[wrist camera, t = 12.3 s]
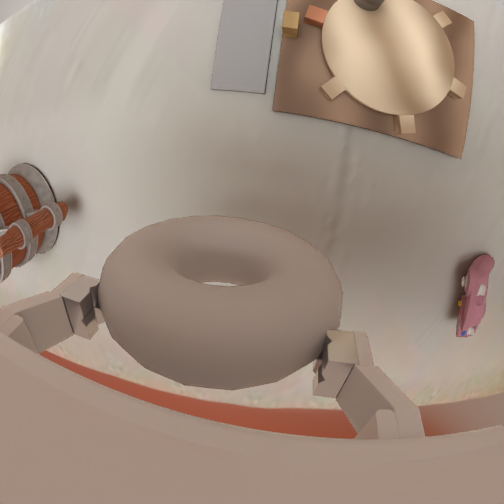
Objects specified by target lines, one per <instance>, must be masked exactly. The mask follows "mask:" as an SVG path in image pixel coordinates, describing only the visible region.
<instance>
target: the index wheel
mask: <svg viewBox="0 0 504 504" xmlns="http://www.w3.org/2000/svg"><path fill="white" fill-rule="evenodd" d="M304 22H305V23H308V24H311V25H314V26H316V27H319V28H322V32H321V48H322V54H323V57H324V61H325V63H326V65H327V68H328V70H329V71H330V73H331V75H332V76H333V78H332V79H331V80H329V81H328V82H326V83H325V84H324V85H322V86H321V87H320V90H321V91H322V92H323V93H324V94H325V96H326V97H327V98H328V99H329V100H332V99H333V98H335V97H336V96H337V95H339V94H340V93H342V92H343V91H345V92H346V93H347V94H348V95H350V96H351V97H352V98H353V99H355V100H356V101H358V102H359V103H361V104H362V105H364V106H366V107H368V108H370V109H373V110H375V111H378V112H382V113H385V114H391V115H394V122H395V130H396V133H401V134H403V133H416V130H415V122H414V115H415V114H419V113H423V112H426V111H428V110H430V109H432V108H434V107H435V106H437V105H438V104H439V103H440V102H441V101H442V100H443V99H444V98H445V97H446V95H447V94H449V95H450V96H452V97H453V98H454V99H463V98H464V95H465V92H466V88H467V87H466V86H465V85H464V84H463V83H461V82H460V81H458V80H457V79H456V78H454V70H455V65H454V56H453V51H452V48H451V44H450V42H449V40H448V37H447V35H446V34H445V32H444V30H443V27H445V26H447V25H449V24H451V23H452V22H451V20H450V19H449V18H448V17H447V15H446V14H445V13H444V12H443V11H441V12H439V13H437V14H435V15H434V16H432V15H431V14H430V13H429V12H428V11H427V10H426V9H425V8H424V7H422V6H421V5H420V4H418V3H417V2H415V1H414V0H338V1H337V2H335V3H334V4H333V6H332V7H331V8H330V10H329V11H327V10H324V9H321V8H318V7H315V6H312V5H309V8H308V10H307V12H306V15H305V19H304ZM322 26H323V27H322Z"/></svg>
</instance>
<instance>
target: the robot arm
mask: <svg viewBox="0 0 504 504" xmlns="http://www.w3.org/2000/svg"><path fill="white" fill-rule="evenodd" d="M99 284H100V280H99V279H96V278H92V277H89V276H86V275H83V274H79V273H72V274H71V275H70V276H68V277H67V278H66V279H65V280H64V281H63V282H61V283H60V284H59V285H58V286H57V287H56V288H55V289H54V290H52V291H51V292H45V293H41V294H38V295H35V296H32V297H29V298H26V299H23V300H20V301H17V302H14V303H11V304H8V305H5V306H3V307H2V308H1V309H0V504H504V425H499V426H494V427H489V428H484V429H479V430H473V431H468V432H462V433H455V434H448V435H441V436H430V437H425V434H424V429H423V424H422V420H421V416H420V411H419V408H418V407H417V406H416V405H415V404H414V403H413V402H412V401H411V400H410V399H409V398H408V397H407V396H406V395H405V394H404V393H403V392H402V391H401V390H400V389H399V388H398V387H397V386H396V385H395V384H394V383H393V382H392V381H391V380H390V378H389V377H388V376H387V375H386V374H385V373H384V372H383V371H382V370H381V369H380V368H379V367H378V366H374V363H373V359H372V354H371V350H370V345H369V341H368V336H367V334H366V333H362V332H353V331H352V332H350V331H342V330H335V329H328V330H327V331H326V337H325V340H324V344H323V349H322V352H321V353H320V355H319V356H318V358H317V359H315V360H314V361H313V372H314V373H315V376H314V379H313V395H315V396H322V397H330V398H336V400H337V402H338V404H339V405H340V407H341V408H342V410H343V411H344V413H345V415H346V416H347V418H348V419H349V421H350V422H351V424H352V426H353V427H354V428H355V430H356V432H357V433H358V435H357V436H356V437H355V438H354V439H338V438H322V437H309V436H300V435H290V434H283V433H275V432H269V431H262V430H256V429H251V428H245V427H240V426H235V425H230V424H225V423H220V422H216V421H212V420H208V419H203V418H199V417H196V416H192V415H188V414H184V413H181V412H177V411H174V410H170V409H167V408H164V407H161V406H158V405H154V404H151V403H149V402H146V401H143V400H140V399H137V398H134V397H132V396H129V395H126V394H124V393H121V392H118V391H116V390H113V389H111V388H108V387H106V386H103V385H101V384H99V383H96V382H94V381H92V380H89V379H87V378H85V377H83V376H81V375H78V374H76V373H74V372H72V371H70V370H68V369H66V368H64V367H62V366H60V365H58V364H56V363H54V362H52V361H50V360H48V359H46V358H45V357H42V356H41V355H39V353H41V352H43V351H45V350H47V349H48V348H50V347H52V346H54V345H56V344H58V343H59V342H61V341H63V340H65V339H67V338H69V337H70V336H72V335H74V334H76V335H78V336H81V337H84V338H86V339H89V340H90V339H91V338H92V337H93V336H94V334H95V333H96V332H97V331H98V329H99V328H98V324H101V323H103V322H105V319H104V317H103V314H102V311H101V308H100V306H99V303H98V288H99Z"/></svg>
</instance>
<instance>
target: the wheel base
mask: <svg viewBox="0 0 504 504" xmlns="http://www.w3.org/2000/svg"><path fill="white" fill-rule="evenodd" d="M337 1H338V0H287V6H286V11H284V15H283V23H282V30H283V36H282V43H281V50H280V58H279V65H278V72H277V80H276V87H275V94H274V102H273V109H272V110H273V111H280V112H287V113H293V114H299V115H305V116H311V117H316V118H321V119H326V120H331V121H336V122H341V123H345V124H349V125H354V126H358V127H362V128H366V129H370V130H374V131H377V132H381V133H385V134H388V135H392V136H395V137H398V138H402V139H405V140H408V141H411V142H415V143H418V144H421V145H424V146H427V147H429V148H432V149H435V150H438V151H441V152H443V153H446V154H449V155H451V156H454V157H457V158H460V159H461V158H462V153H463V148H464V143H465V137H466V132H467V125H468V119H469V112H470V104H471V95H472V84H473V70H474V21H472V20H470V19H469V18H467V17H465V16H463V15H461V14H459V13H457V12H455V11H453V10H451V9H449V8H447V7H445V6H443V5H441V4H439V3H437V2H434V1H432V0H414V1H415V2H417V3H418V4H420V5H421V6H422V7H424V8H425V9H426V10H427V11H428V12H429V13H430V14H431V15H432V16H434V15H435V14H437V13H439V12H441V11H443V12H444V13H445V14H446V15H447V17H448V18H449V19H450V20H451V22H452V23H451V24H449V25H447V26H445V27H443V30H444V32H445V34H446V35H447V37H448V40H449V42H450V44H451V48H452V51H453V56H454V65H455V70H454V78H456V79H457V80H458V81H460V82H461V83H463V84H464V85H465V86H466V87H467V88H466V92H465V95H464V98H463V99H454V98H453V97H452V96H450V95H449V94H447V95H446V97H445V98H444V99H443V100H442V101H441V102H440V103H439V104H438V105H437V106H435V107H434V108H432V109H430V110H428V111H426V112H423V113H419V114H415V115H414V122H415V130H416V133H403V134H401V133H396V130H395V122H394V115H391V114H385V113H382V112H378V111H375V110H373V109H370V108H368V107H366V106H364V105H362V104H361V103H359V102H358V101H356V100H355V99H353V98H352V97H351V96H350V95H348V94H347V93H346V92H345V91H343V92H342V93H340V94H339V95H337V96H336V97H335V98H333V99H332V100H329V99H328V98H327V97H326V96H325V94H324V93H323V92H322V91H321V90H320V87H321V86H322V85H324V84H325V83H326V82H328V81H329V80H331V79H332V78H333V76H332V75H331V73H330V71H329V70H328V68H327V65H326V63H325V61H324V57H323V54H322V48H321V32H322V28H319V27H316V26H314V25H311V24H308V23H305V22H304V19H305V15H306V12H307V10H308V8H309V5H312V6H315V7H318V8H321V9H324V10H327V11H329V10H330V8H331V7H332V6H333V4H334V3H335V2H337ZM322 27H323V26H322Z"/></svg>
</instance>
